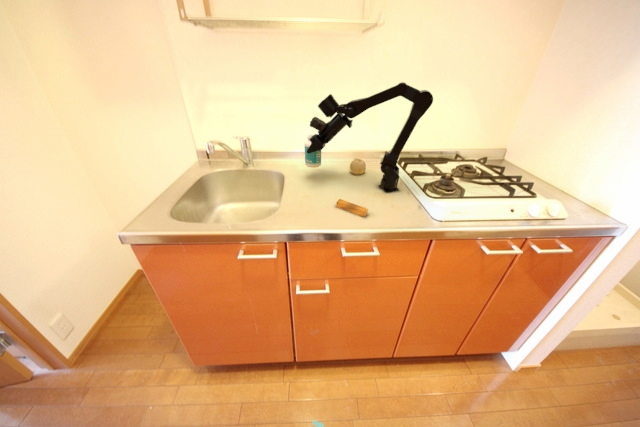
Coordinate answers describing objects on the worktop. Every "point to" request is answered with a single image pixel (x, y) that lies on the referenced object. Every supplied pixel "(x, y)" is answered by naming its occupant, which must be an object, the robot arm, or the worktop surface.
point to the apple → (357, 166)
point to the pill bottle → (312, 155)
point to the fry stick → (352, 207)
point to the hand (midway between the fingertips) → (310, 150)
